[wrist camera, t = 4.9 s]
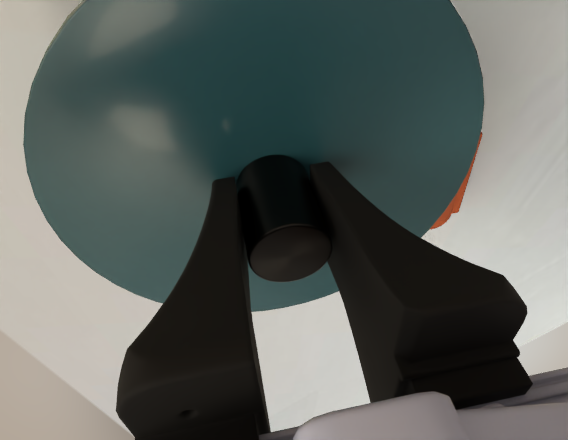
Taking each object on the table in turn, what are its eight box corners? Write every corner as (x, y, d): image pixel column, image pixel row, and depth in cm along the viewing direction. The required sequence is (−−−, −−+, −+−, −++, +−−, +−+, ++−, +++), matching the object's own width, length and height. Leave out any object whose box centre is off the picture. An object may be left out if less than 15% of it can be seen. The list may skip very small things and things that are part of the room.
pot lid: (537, 120, 16) (622, 196, 13) (283, 323, 22) (300, 406, 19) (221, -278, 8) (253, -322, 5) (-42, 213, 14) (-99, 326, 11)
